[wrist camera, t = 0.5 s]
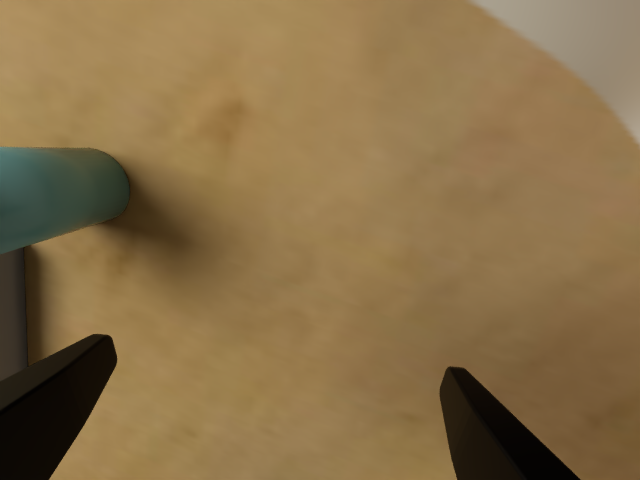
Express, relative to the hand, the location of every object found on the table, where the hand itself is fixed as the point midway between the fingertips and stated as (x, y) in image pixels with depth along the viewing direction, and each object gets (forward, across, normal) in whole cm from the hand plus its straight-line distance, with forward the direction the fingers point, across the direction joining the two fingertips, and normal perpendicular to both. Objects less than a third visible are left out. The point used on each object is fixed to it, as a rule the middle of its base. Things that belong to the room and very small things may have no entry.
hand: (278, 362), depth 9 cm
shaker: (+14, +15, 0) cm, 21 cm away
